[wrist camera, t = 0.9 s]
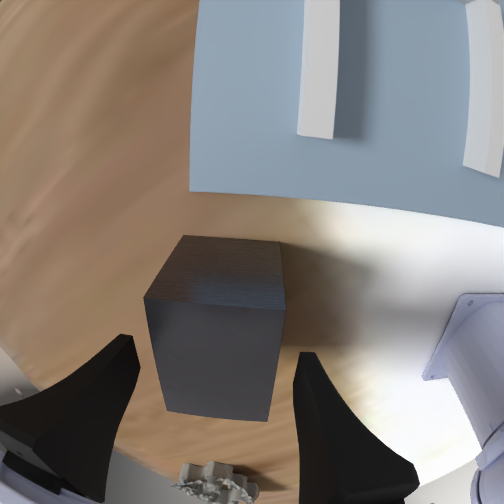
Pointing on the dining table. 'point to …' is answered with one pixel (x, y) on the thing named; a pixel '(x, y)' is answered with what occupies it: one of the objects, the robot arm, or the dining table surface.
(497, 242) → the dining table surface
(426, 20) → the coupler cradle
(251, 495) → the egg carton
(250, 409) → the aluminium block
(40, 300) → the dining table surface
